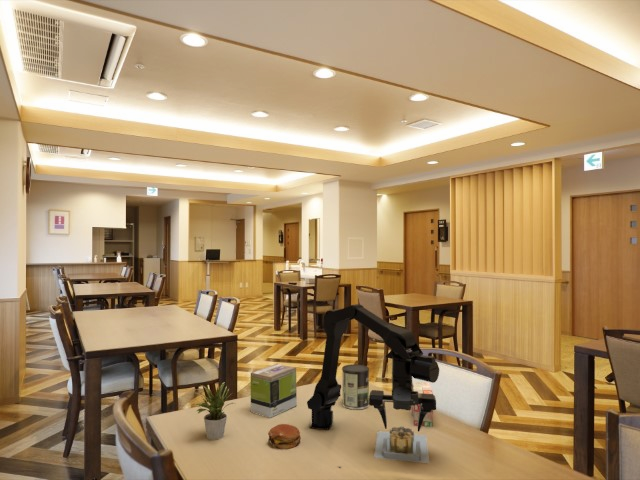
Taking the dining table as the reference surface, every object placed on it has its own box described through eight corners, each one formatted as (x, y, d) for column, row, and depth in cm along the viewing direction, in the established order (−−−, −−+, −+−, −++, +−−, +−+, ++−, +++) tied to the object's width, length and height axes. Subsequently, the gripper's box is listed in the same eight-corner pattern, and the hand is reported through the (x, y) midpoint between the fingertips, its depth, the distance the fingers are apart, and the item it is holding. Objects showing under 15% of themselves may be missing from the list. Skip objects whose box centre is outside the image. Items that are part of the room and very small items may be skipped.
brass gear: (389, 455, 123) (389, 437, 123) (390, 444, 129) (390, 427, 130) (413, 457, 122) (413, 439, 122) (412, 447, 128) (412, 429, 128)
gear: (389, 443, 130) (389, 433, 131) (390, 433, 138) (390, 423, 138) (413, 445, 129) (413, 435, 129) (413, 435, 136) (413, 425, 136)
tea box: (277, 400, 170) (277, 362, 170) (297, 406, 164) (297, 367, 164) (249, 412, 158) (250, 371, 158) (270, 418, 152) (270, 376, 152)
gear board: (373, 461, 121) (374, 452, 122) (377, 434, 139) (377, 426, 139) (429, 467, 119) (429, 457, 119) (426, 439, 136) (426, 430, 136)
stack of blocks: (410, 406, 165) (410, 373, 165) (427, 407, 164) (427, 374, 164) (413, 429, 144) (413, 392, 144) (433, 431, 143) (433, 393, 143)
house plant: (199, 425, 146) (200, 376, 146) (240, 425, 145) (241, 376, 146) (185, 444, 132) (186, 389, 132) (230, 445, 131) (231, 390, 132)
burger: (298, 435, 139) (298, 420, 139) (302, 448, 130) (302, 432, 130) (266, 437, 137) (267, 422, 137) (269, 451, 128) (269, 435, 128)
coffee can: (367, 400, 171) (367, 364, 171) (370, 410, 161) (370, 371, 161) (341, 400, 171) (341, 363, 172) (342, 409, 161) (342, 371, 161)
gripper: (367, 381, 120) (367, 438, 119) (437, 385, 116) (437, 444, 116) (370, 370, 131) (370, 422, 130) (434, 374, 127) (434, 428, 127)
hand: (402, 429), depth 125 cm, fingers open, 9 cm apart
